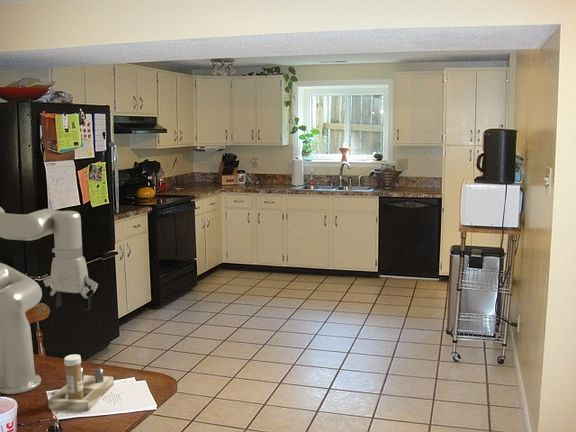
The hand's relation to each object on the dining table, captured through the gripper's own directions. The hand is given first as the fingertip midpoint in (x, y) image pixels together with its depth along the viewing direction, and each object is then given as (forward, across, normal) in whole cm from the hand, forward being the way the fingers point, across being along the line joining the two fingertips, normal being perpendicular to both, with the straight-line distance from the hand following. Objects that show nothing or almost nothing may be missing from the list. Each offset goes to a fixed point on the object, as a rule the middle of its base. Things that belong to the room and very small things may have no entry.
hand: (71, 308), depth 185 cm
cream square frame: (+25, +5, -5) cm, 26 cm away
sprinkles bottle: (+25, +5, -8) cm, 27 cm away
